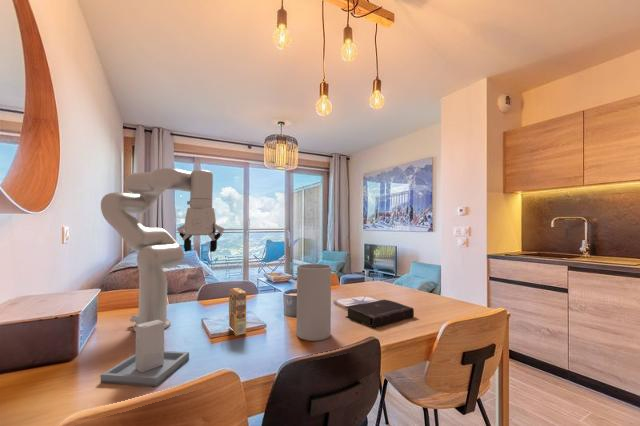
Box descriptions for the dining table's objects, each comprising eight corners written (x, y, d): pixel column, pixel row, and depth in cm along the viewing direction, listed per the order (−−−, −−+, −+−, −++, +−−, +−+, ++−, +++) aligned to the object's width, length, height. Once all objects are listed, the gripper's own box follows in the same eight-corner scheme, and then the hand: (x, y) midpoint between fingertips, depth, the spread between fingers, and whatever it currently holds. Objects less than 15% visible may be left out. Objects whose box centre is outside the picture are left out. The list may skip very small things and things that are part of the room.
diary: (414, 319, 129) (414, 307, 130) (375, 331, 115) (375, 318, 115) (381, 308, 144) (382, 297, 145) (343, 317, 129) (343, 306, 130)
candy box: (246, 333, 108) (247, 291, 109) (235, 336, 106) (235, 293, 107) (238, 326, 116) (239, 287, 116) (227, 328, 113) (228, 288, 114)
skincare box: (157, 360, 86) (158, 318, 86) (164, 365, 83) (165, 322, 83) (133, 368, 81) (135, 324, 81) (140, 374, 78) (141, 327, 78)
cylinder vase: (334, 331, 112) (335, 264, 113) (324, 344, 100) (324, 269, 101) (304, 327, 116) (304, 263, 117) (290, 338, 104) (291, 267, 105)
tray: (100, 382, 75) (100, 374, 75) (142, 356, 90) (142, 349, 90) (156, 386, 73) (156, 378, 73) (189, 358, 88) (189, 352, 88)
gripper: (172, 203, 105) (171, 251, 104) (219, 203, 103) (218, 252, 103) (184, 204, 112) (183, 249, 112) (228, 204, 111) (227, 250, 110)
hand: (200, 251), depth 107 cm, fingers open, 9 cm apart
